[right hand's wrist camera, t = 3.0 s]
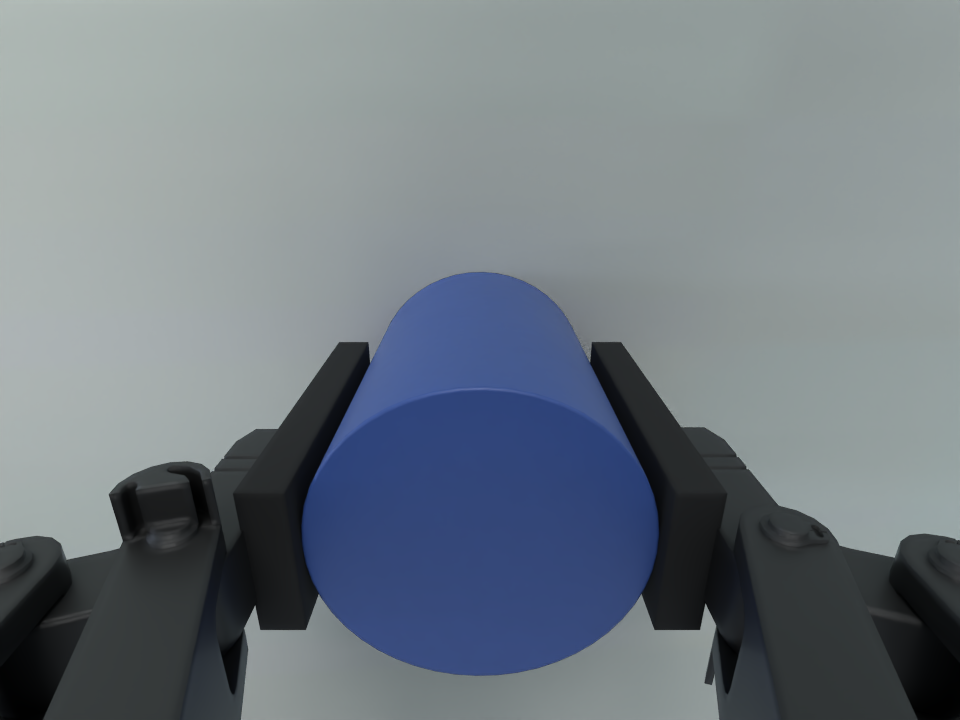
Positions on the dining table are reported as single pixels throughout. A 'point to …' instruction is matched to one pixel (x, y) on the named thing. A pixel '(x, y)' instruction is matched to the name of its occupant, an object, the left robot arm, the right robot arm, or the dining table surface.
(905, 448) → the dining table surface
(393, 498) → the can
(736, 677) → the right robot arm
